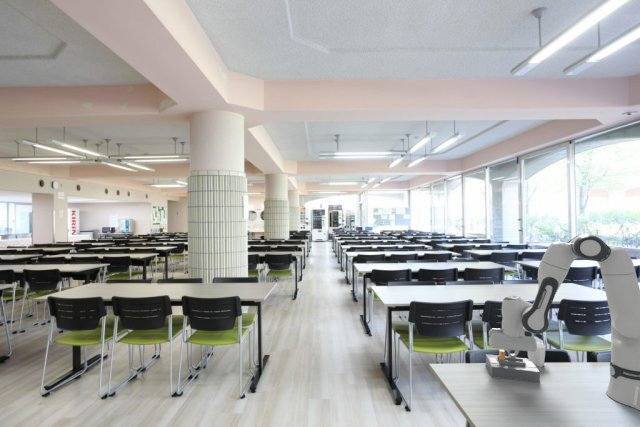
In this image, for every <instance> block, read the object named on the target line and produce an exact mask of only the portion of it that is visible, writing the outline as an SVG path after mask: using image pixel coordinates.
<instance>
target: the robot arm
mask: <svg viewBox="0 0 640 427" xmlns="http://www.w3.org/2000/svg"><path fill="white" fill-rule="evenodd" d="M576 259H583V260H587V261H592V262H593V261H594V262H597V264H598V265H599V268H600V274H601V277H602V283H603V287H604V290H605V291H604V292H605V295H606V296H605V297H606V301H607V305H608V309H609V310H608V311H609V315H610V316H609V317H610V324H611V325H610V327H611V329H610V330H611V332H610V333H611V334H610V340H611V341H610V342H611V348H610V350H611V351H610V352H611V353H610V356H611V360H609V375H610V377H609V382H608V385H607V389H606V391H605V394H606V395H607V396H608V397H609V398H611V399H612V400H613V401H616V402H618V403H620V404H622V405H626V406H629V407H632V408H633V409H636V410H637V411H640V285H639V281H638V276H637V273H636V269H635V265H634V262H633V260H632V258H631V256H630V253H629V252H628V250H626V249H625V248H622V247H619V246H609V245H608V244H607V243H606V242H605V241H604V240H602V239H601V238H600V237H598V236H596V235H594V234H592V233H591V234H590V233H582V234H579V235H576V236H575V237H572V239H570V240H569V241H567V242H564V241H554V242H552V243H551V244H550V245H548V247H547V249H546V250H545V252H544V254H543V256H542V258H541V261H540V262H539V266H538V271H537V279H538V280H537V281H538V290H537V293H536V296H535V299H534V301H533V303H530V302H529V301H527V300H524V299H523V298H521V297H520V296H517V295H516V296H515V295H510V296H506V297H504V298H503V300H502V303H501V316H502V320H501V328H494V327H492V328H490V329H489V330H488V336H489V337H488V338H489V339H488V344H489V346H490V347H491V348H492V349H500V350H505V351H506V352H507V354H508V357H509V358H513V359H516V357H517V356H518V354H519V353H520V351H523V352H524V351H525V352H528V351H533V352H535V351H536V350H537V344H536V342H537V339H536V337H535V335H540V334H543V333H545V332H546V331H547V330H548V328H549V312H550V310H551V306H552V304H553V302H554V299H555V296H556V294H557V292H558V291H559V289H560V287H561V285H562V284H563V283H564V280H565V279H566V278H567V275H568V273H569V271H570V268H571V266H572V264H573V263H574V261H575V260H576ZM511 350H512V351H514V353H511Z"/></svg>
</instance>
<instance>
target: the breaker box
mask: <svg viewBox="0 0 640 427" xmlns="http://www.w3.org/2000/svg"><path fill="white" fill-rule="evenodd" d="M486 364H487V365H486ZM485 365H486V367H487V369H489V370H488V372H489V371H490V372H489V374H490V376H491V378H498V379H505V380H515V381H523V382H532V383H539V384H541V372H540V370H539V369H538V368H537V367H538V366H535V365H534V364H533V362H532V361H531V360H530V359H528V358H525V357H518V356H516V359H513V358H509V355H508V356H507V355H505V360H499V354H498V355H495V354H487V353H486V354H485Z"/></svg>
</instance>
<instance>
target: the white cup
mask: <svg viewBox="0 0 640 427" xmlns="http://www.w3.org/2000/svg"><path fill="white" fill-rule="evenodd" d="M536 344H537V350H536V351H535V352H533V351H527V357H528V358H527V359H530V360H531V361H532V362H533V364H534V365H535V366H536V367H544V366H545V359H546V358H545V357H546V345H545V344H544V343H541V342H538V341H536Z"/></svg>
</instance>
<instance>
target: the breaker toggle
mask: <svg viewBox="0 0 640 427" xmlns="http://www.w3.org/2000/svg"><path fill="white" fill-rule="evenodd" d="M505 351H506V350H505V349H500V348H498V356H499V360H505V356H506V352H505Z"/></svg>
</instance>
